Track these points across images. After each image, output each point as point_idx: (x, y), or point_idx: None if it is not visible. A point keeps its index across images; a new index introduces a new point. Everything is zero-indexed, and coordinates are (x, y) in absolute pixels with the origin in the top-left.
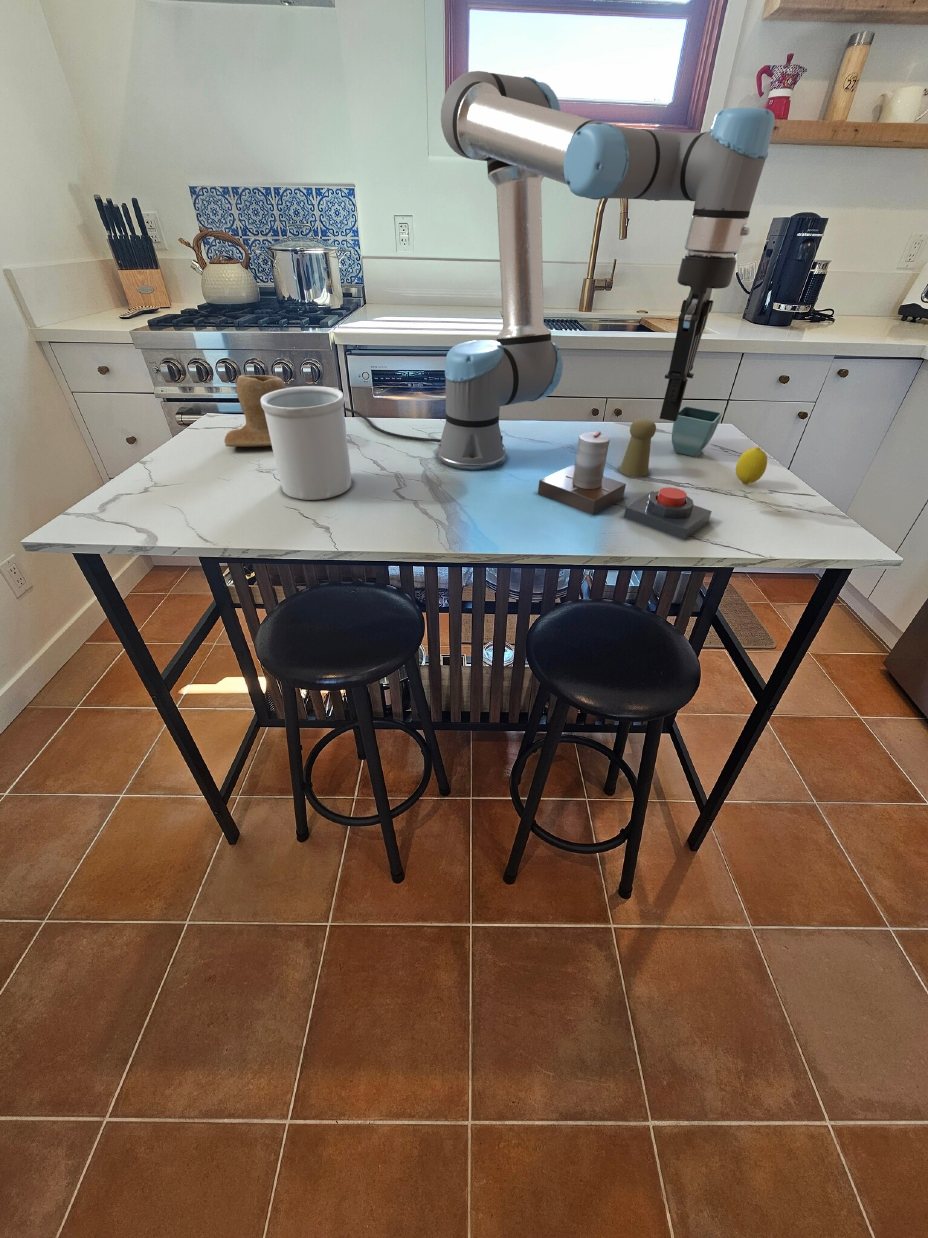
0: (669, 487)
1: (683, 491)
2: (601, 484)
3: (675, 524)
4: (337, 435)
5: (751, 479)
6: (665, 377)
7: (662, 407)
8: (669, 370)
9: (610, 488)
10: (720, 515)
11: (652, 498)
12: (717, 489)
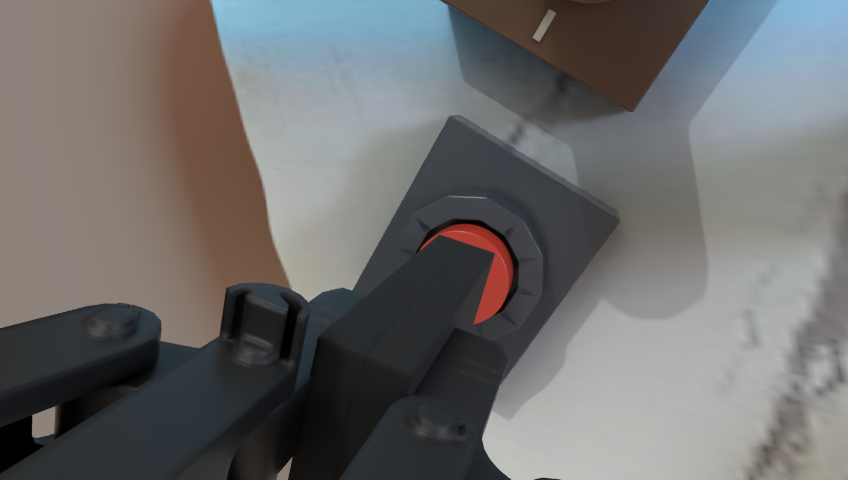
0: (505, 272)
1: (480, 317)
2: (591, 3)
3: (368, 268)
4: None
5: None
6: (247, 291)
7: (415, 256)
8: (24, 324)
9: (563, 46)
10: (556, 423)
11: (458, 207)
12: (792, 474)
